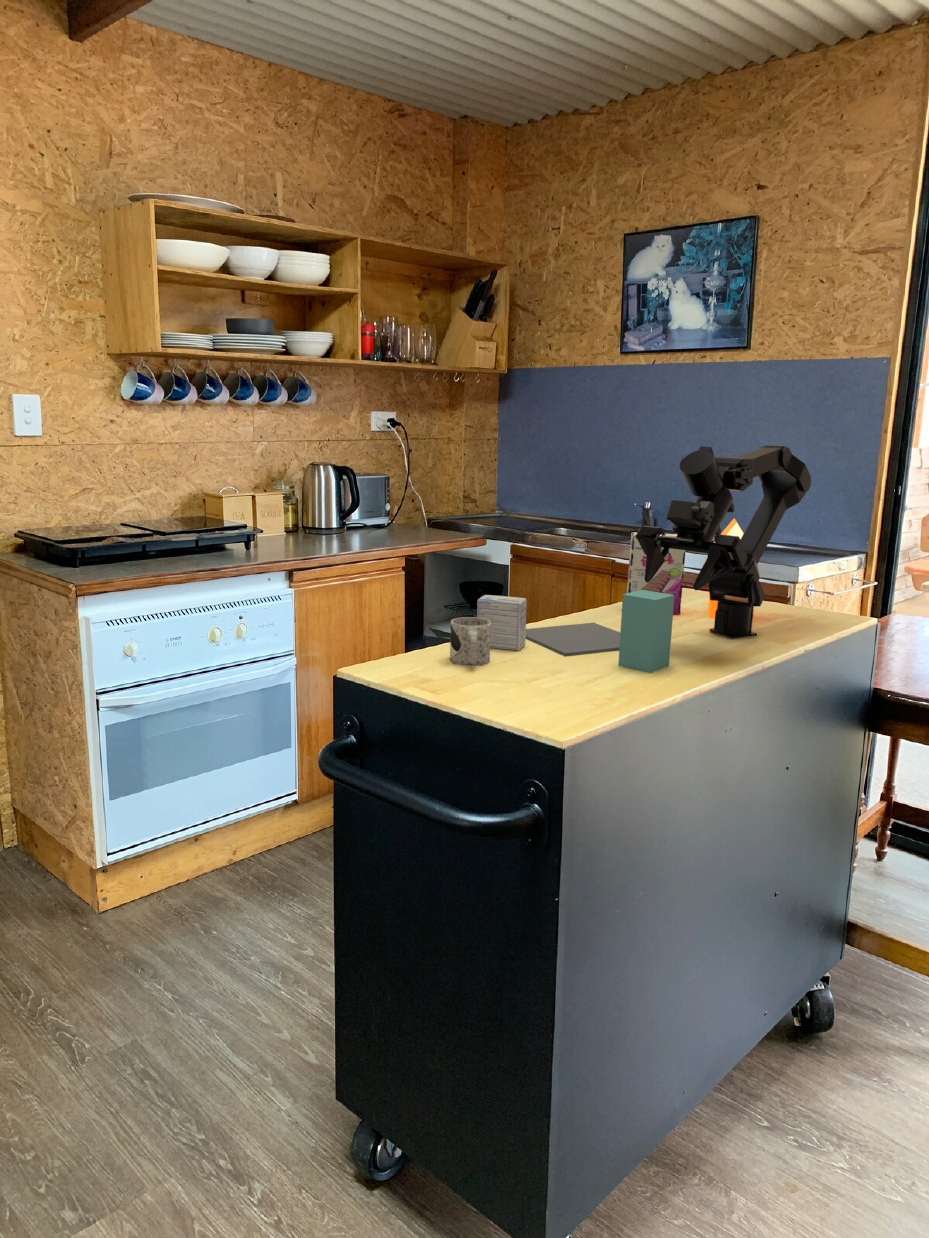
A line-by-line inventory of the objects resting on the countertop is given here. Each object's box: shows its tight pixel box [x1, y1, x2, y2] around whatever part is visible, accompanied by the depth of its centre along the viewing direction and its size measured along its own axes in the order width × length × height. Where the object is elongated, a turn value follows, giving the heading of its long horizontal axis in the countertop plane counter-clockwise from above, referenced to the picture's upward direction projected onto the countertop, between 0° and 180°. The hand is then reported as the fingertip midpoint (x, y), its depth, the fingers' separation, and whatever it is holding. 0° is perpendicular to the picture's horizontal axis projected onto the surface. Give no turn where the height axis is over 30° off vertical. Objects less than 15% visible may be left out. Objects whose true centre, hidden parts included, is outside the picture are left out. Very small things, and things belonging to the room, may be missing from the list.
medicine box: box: [476, 594, 528, 651], centre depth 163 cm, size 8×4×9 cm, turn 71°
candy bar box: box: [626, 531, 687, 615], centre depth 193 cm, size 11×5×16 cm, turn 84°
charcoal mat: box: [526, 622, 621, 657], centre depth 170 cm, size 18×18×1 cm
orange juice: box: [707, 517, 744, 620], centre depth 192 cm, size 8×9×20 cm
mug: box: [449, 616, 491, 667], centre depth 152 cm, size 10×7×7 cm, turn 4°
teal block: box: [618, 590, 674, 674], centre depth 152 cm, size 6×6×12 cm
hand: (670, 584), depth 156 cm, fingers open, 9 cm apart
